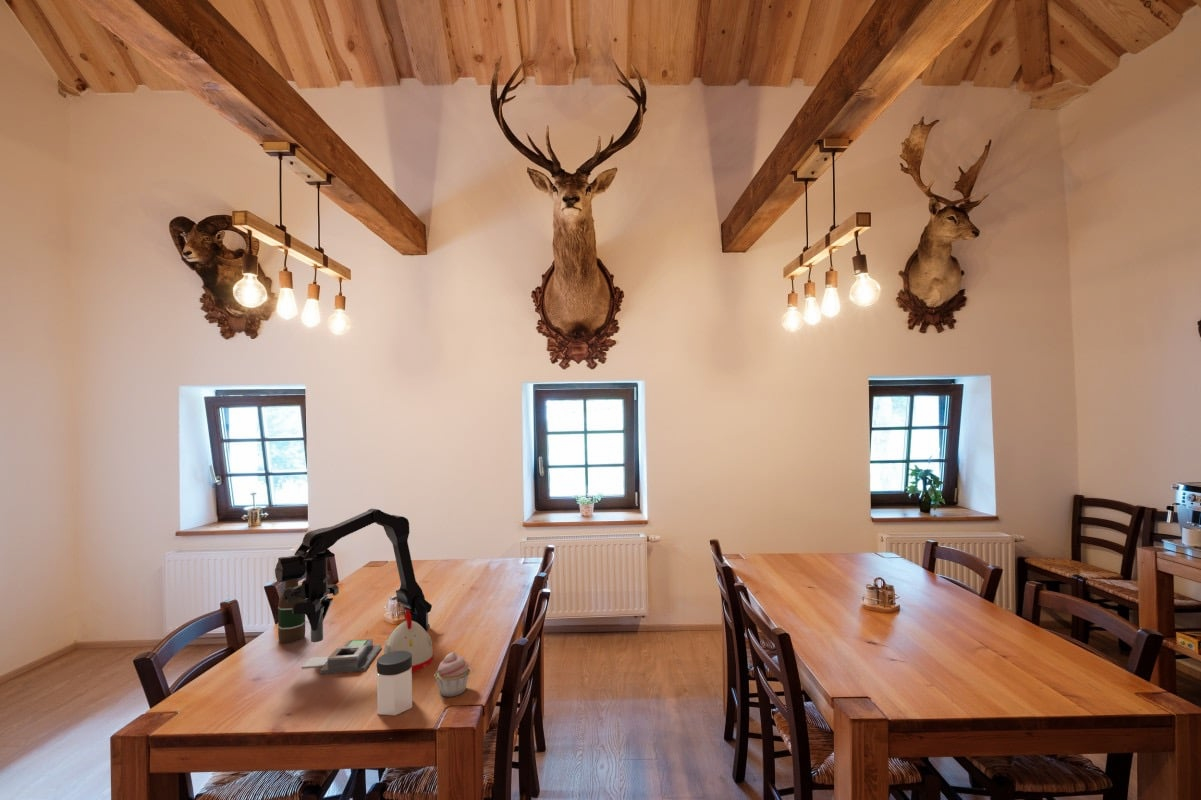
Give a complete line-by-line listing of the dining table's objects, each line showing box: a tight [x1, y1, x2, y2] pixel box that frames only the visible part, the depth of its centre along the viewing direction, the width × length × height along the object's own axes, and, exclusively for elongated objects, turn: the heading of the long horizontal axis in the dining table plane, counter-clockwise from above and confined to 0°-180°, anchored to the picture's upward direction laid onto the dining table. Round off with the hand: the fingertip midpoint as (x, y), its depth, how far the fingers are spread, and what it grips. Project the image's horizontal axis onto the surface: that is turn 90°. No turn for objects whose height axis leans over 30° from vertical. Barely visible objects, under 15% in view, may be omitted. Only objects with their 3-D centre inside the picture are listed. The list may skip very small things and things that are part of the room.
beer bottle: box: [277, 579, 306, 644], centre depth 182 cm, size 8×8×24 cm
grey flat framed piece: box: [319, 638, 382, 675], centre depth 163 cm, size 12×16×4 cm
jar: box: [376, 651, 413, 717], centre depth 136 cm, size 9×8×12 cm
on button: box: [348, 639, 367, 646], centre depth 168 cm, size 4×4×2 cm
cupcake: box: [433, 651, 472, 698], centre depth 143 cm, size 9×9×10 cm
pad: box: [301, 656, 329, 669], centre depth 162 cm, size 6×6×1 cm
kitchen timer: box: [382, 609, 434, 672], centre depth 161 cm, size 14×14×15 cm
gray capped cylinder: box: [310, 604, 324, 643], centre depth 163 cm, size 4×4×10 cm
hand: (316, 628), depth 163 cm, fingers closed on gray capped cylinder, 3 cm apart
